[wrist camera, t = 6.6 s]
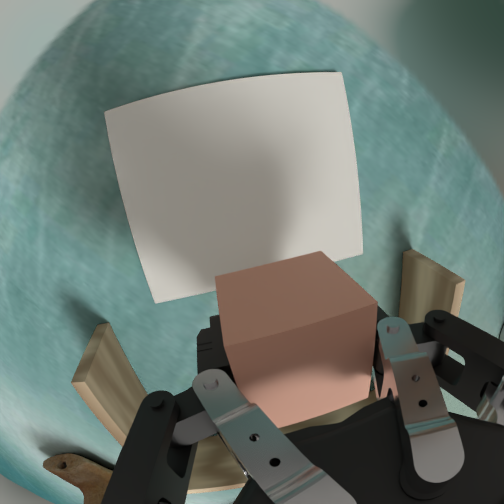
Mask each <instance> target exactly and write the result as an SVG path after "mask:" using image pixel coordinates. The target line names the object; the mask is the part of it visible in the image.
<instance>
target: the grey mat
mask: <svg viewBox="0 0 504 504" xmlns="http://www.w3.org/2000/svg"><path fill="white" fill-rule="evenodd" d="M104 114H105V120H106V126H107V131H108V137H109V142H110V147H111V152H112V157H113V162H114V166H115V171H116V175H117V179H118V183H119V188H120V192H121V196H122V200H123V203H124V207H125V211H126V215H127V218H128V222H129V225H130V229H131V232H132V236H133V239H134V242H135V245H136V249H137V252H138V255H139V258H140V261H141V264H142V267H143V270H144V273H145V276H146V279H147V282H148V285H149V288H150V290H151V293H152V296H153V299H154V301H155V303H160V302H165V301H170V300H174V299H179V298H184V297H188V296H193V295H197V294H202V293H206V292H211V291H215V290H216V284H215V276H219V275H223V274H227V273H231V272H236V271H240V270H244V269H248V268H252V267H256V266H261V265H265V264H269V263H273V262H277V261H281V260H285V259H289V258H293V257H297V256H301V255H305V254H309V253H313V252H317V251H322V252H323V253H324V254H325V255H326V256H328V257H329V258H330V259H331V260H332V261H333V262H334V261H338V260H342V259H346V258H350V257H353V256H357V255H361V254H363V240H362V220H361V205H360V192H359V182H358V172H357V163H356V154H355V147H354V139H353V132H352V126H351V120H350V114H349V108H348V102H347V97H346V92H345V86H344V82H343V77H342V72H313V73H291V74H277V75H266V76H257V77H248V78H241V79H234V80H227V81H221V82H215V83H209V84H204V85H199V86H194V87H189V88H185V89H180V90H176V91H172V92H168V93H164V94H160V95H156V96H153V97H149V98H145V99H142V100H139V101H135V102H132V103H129V104H126V105H122V106H119V107H116V108H113V109H111V110H108V111H105V112H104Z"/></svg>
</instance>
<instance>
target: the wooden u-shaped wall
mask: <svg viewBox="0 0 504 504" xmlns="http://www.w3.org/2000/svg"><path fill="white" fill-rule="evenodd" d="M464 285H465V280H464V279H463V278H461V277H460V276H458V275H456V274H455V273H453V272H451V271H450V270H448V269H446V268H445V267H443V266H441V265H440V264H438V263H436V262H434V261H433V260H431V259H429V258H428V257H426V256H424V255H422V254H421V253H419V252H417V251H415V250H413V249H411V250H408V251H404V252H403V266H402V283H401V296H400V306H399V316H398V317H399V318H402V319H404V320H405V321H406V322H407V323H408V324H414V323H420V322H424V319H425V315H426V314H427V313H428V312H429V311H432V310H444V311H447V312H449V313H451V314H453V315H454V316H456V317H458V315H459V310H460V306H461V301H462V296H463V291H464ZM448 352H449V348H447V349H446V353H445V354H446V355H448ZM71 383H72V385H73V386H74V388H75V389H76V391H77V392H78V393H79V395H80V396H81V397H82V399H83V400H84V401H85V403H86V404H87V405H88V407H89V408H90V409H91V411H92V412H93V413H94V414H95V416H96V417H97V418H98V419H99V421H100V422H101V423H102V424H103V425H104V427H105V428H106V429H107V430H108V431H109V432H110V433H111V435H112V436H113V437H114V438H115V439H116V440H117V441H118V442H119V443H120V445H121V446H122V447H123V445H124V443H125V440H126V438H127V435H128V433H129V430H130V428H131V426H132V423H133V421H134V418H135V416H136V414H137V411H138V409H139V407H140V404H141V402H142V400H143V399H144V398H145V397H146V396H147V395H148V394H147V393H146V391H145V389H144V388H143V386H142V384H141V383H140V381H139V379H138V377H137V376H136V374H135V372H134V370H133V368H132V367H131V365H130V363H129V361H128V359H127V357H126V356H125V354H124V352H123V350H122V348H121V346H120V344H119V342H118V340H117V338H116V336H115V334H114V332H113V330H112V328H111V326H110V324H109V323H104V324H99V325H97V327H96V329H95V331H94V333H93V335H92V337H91V339H90V341H89V343H88V345H87V347H86V349H85V352H84V354H83V356H82V358H81V360H80V363H79V365H78V367H77V370H76V372H75V374H74V376H73V379H72V381H71ZM376 401H377V398H376V392H375V390H373V391H370V392H369V395H368V398H366V399H363V400H361V401H358V402H356V403H353V404H351V405H348V406H345V407H343V408H340V409H337V410H335V411H332V412H329V413H326V414H323V415H320V416H317V417H314V418H311V419H308V420H305V421H301V422H298V423H295V424H291V425H288V426H284V427H280V428H278V429H279V430H280V431H281V432H282V433H283V434H286V433H290V432H293V431H297V430H300V429H303V428H307V427H310V426H319V425H327V424H334V423H339V422H342V421H344V420H345V419H347V418H348V417H350V416H351V415H353V414H354V413H355V412H357V411H358V410H360V409H361V408H363V407H364V406H367V405H369V404H371V403H374V402H376ZM247 480H248V479H247V478H246V476H245V475H244V473H243V472H242V471H241V469H240V468H239V466H238V465H237V463H236V462H235V460H234V459H233V457H232V456H231V454H230V453H229V451H228V450H227V448H226V447H225V445H224V444H223V442H222V441H221V439H220V438H219V436H218V435H217V436H211V437H207V438H204V439H202V440H200V441H198V446H197V451H196V455H195V459H194V464H193V468H192V473H191V477H190V482H189V486H188V491H187V494H192V493H204V492H213V491H221V490H229V489H235V488H241V487H244V485H245V484H246V482H247Z"/></svg>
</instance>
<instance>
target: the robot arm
mask: <svg viewBox="0 0 504 504" xmlns="http://www.w3.org/2000/svg"><path fill="white" fill-rule="evenodd" d="M447 348H449V349H451V350H452V351H454V352H456V353H457V354H459V355H461V356H462V357H463V358H464V360H465V366H464V365H462V364H461V363H459V362H458V361H456V360H454V359H453V358H451V357H450V356H448V355H446V354H445V353H446V349H447ZM197 368H198V375H197V376H196V377H195V378H194V380H193V383H192V387H190V388H189V389H188V390H186V391H184V392H182V393H179V394H177V395H175V396H173V395H172V394H171V393H170V392H167V391H155V392H152V393H150V394H149V395H147V396H146V397H145V398H144V399H143V400H142V402H141V404H140V407H139V409H138V411H137V414H136V416H135V418H134V421H133V423H132V426H131V428H130V430H129V433H128V435H127V438H126V440H125V443H124V445H123V447H122V450H121V452H120V455H119V457H118V460H117V462H116V465H115V467H114V470H113V473H112V475H111V478H110V480H109V483H108V486H107V488H106V491H105V493H104V496H103V499H102V502H101V504H185V500H186V495H187V491H188V486H189V482H190V477H191V473H192V468H193V464H194V459H195V455H196V451H197V446H198V441H200V440H202V439H204V438H207V437H209V436H211V435H213V434H215V433H217V435H218V436H219V438H220V439H221V441H222V442H223V444H224V445H225V447H226V448H227V450H228V451H229V453H230V454H231V456H232V457H233V459H234V460H235V462H236V463H237V465H238V466H239V468H240V469H241V471H242V472H243V473H244V475H245V476H246V478H247V479H248V480H247V482H246V484H245V485H244V487H243V488H242V490H241V492H240V493H239V495H238V496H237V498H236V500H235V501H234V503H233V504H504V326H503V329H502V331H501V334H500V339H498V338H496V337H494V336H492V335H490V334H488V333H487V332H485V331H483V330H481V329H479V328H477V327H475V326H474V325H472V324H470V323H468V322H466V321H464V320H462V319H460V318H458V317H456V316H454V315H453V314H451V313H449V312H447V311H444V310H432V311H429V312H428V313H427V314H426V315H425V319H424V322H420V323H414V324H408V323H407V322H406V321H405V320H404V319H402V318H399V317H389V316H388V315H387V314H386V313H385V312H384V311H383V310H382V309H381V308H380V307H379V306H378V305H377V322H376V336H375V347H374V357H373V371H372V374H373V380H374V386H375V392H376V398H377V401H376V402H374V403H371V404H369V405H367V406H364V407H363V408H361V409H360V410H358V411H357V412H355V413H354V414H353V415H351V416H350V417H348V418H347V419H345V420H344V421H342V422H339V423H334V424H327V425H319V426H310V427H307V428H303V429H300V430H297V431H293V432H290V433H286V434H283V433H282V432H281V431H280V430H279V429H278V428H277V426H276V425H275V424H274V423H273V422H272V421H271V420H270V419H269V418H268V416H267V415H266V414H265V413H264V412H263V411H262V410H261V409H260V407H259V406H258V405H257V404H255V403H252V404H251V403H250V402H249V401H248V400H247V399H246V397H245V396H244V395H243V394H242V393H241V391H240V390H239V389H238V387H237V384H236V382H235V379H234V376H233V373H232V370H231V367H230V364H229V361H228V358H227V354H226V351H225V348H224V343H223V336H222V329H221V322H220V315H215V316H211V317H210V328H206V329H202V330H201V331H200V332H199V334H198V336H197ZM440 387H441V388H443V389H444V390H446V391H447V392H448V393H450V394H451V395H453V396H454V397H455V398H457V399H458V400H460V401H461V402H463V403H464V404H465V405H467V406H468V407H470V408H471V409H472V410H474V411H475V412H477V416H478V418H479V419H475V418H471V417H467V416H463V415H459V414H455V413H451V412H448V411H447V407H446V404H445V401H444V398H443V395H442V392H441V389H440Z"/></svg>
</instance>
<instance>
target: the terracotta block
mask: <svg viewBox="0 0 504 504" xmlns="http://www.w3.org/2000/svg"><path fill="white" fill-rule="evenodd" d="M215 284H216V292H217V300H218V307H219V315H220V322H221V329H222V336H223V343H224V348H225V351H226V354H227V358H228V361H229V364H230V367H231V370H232V373H233V376H234V379H235V382H236V384H237V387H238V389H239V390H240V391H241V393H242V394H243V395H244V396H245V397H246V399H247V400H248V401H249V402H250V403H251V404H252V403H255V404H257V405H258V406H259V407H260V409H261V410H262V411H263V412H264V413H265V414H266V415H267V416H268V418H269V419H270V420H271V421H272V422H273V423H274V424H275V425H276V426H277V428H280V427H284V426H288V425H291V424H295V423H298V422H301V421H305V420H308V419H311V418H314V417H317V416H320V415H323V414H326V413H329V412H332V411H335V410H337V409H340V408H343V407H345V406H348V405H351V404H353V403H356V402H358V401H361V400H363V399H366V398H368V395H369V389H370V381H371V374H372V366H373V357H374V347H375V336H376V322H377V305H378V302H377V301H376V300H375V299H374V298H373V297H372V296H371V295H369V294H368V293H367V292H366V291H365V290H364V289H363V288H362V287H361V286H360V285H359V284H358V283H356V282H355V281H354V280H353V279H352V278H351V277H350V276H349V275H348V274H347V273H345V272H344V271H343V270H342V269H341V268H340V267H339V266H338V265H337V264H335V263H334V262H333V261H332V260H331V259H330V258H329V257H328V256H326V255H325V254H324V253H323V252H322V251H317V252H313V253H309V254H305V255H301V256H297V257H293V258H289V259H285V260H281V261H277V262H273V263H269V264H265V265H261V266H256V267H252V268H248V269H244V270H240V271H236V272H231V273H227V274H223V275H219V276H215Z"/></svg>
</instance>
